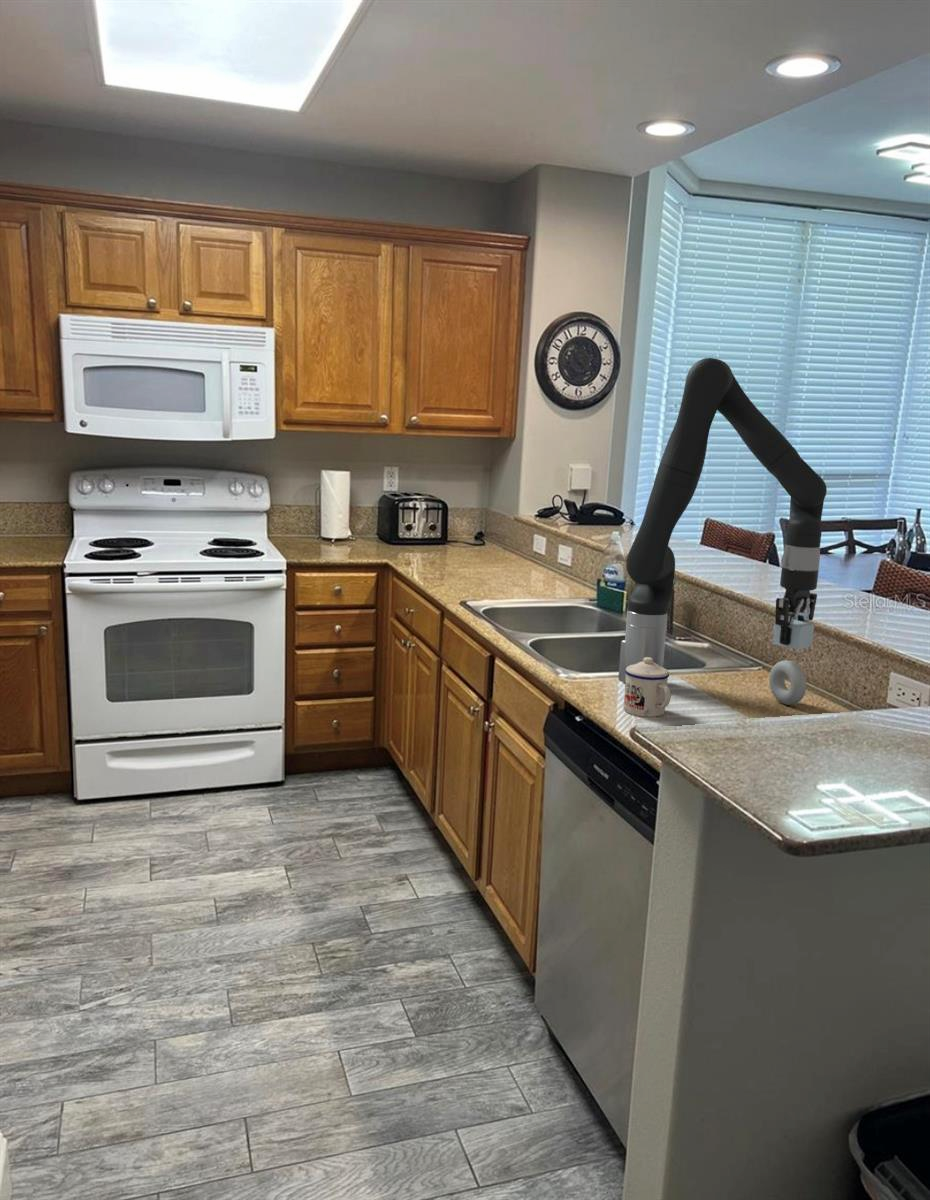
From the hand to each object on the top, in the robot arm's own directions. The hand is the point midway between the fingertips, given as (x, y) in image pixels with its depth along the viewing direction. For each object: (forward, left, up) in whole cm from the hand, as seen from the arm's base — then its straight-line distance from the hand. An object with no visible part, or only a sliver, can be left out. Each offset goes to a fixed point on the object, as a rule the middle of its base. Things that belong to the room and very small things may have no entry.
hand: (792, 641), depth 201 cm
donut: (0, 0, -14) cm, 14 cm away
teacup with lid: (-15, -31, -14) cm, 37 cm away
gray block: (0, 0, -1) cm, 1 cm away
